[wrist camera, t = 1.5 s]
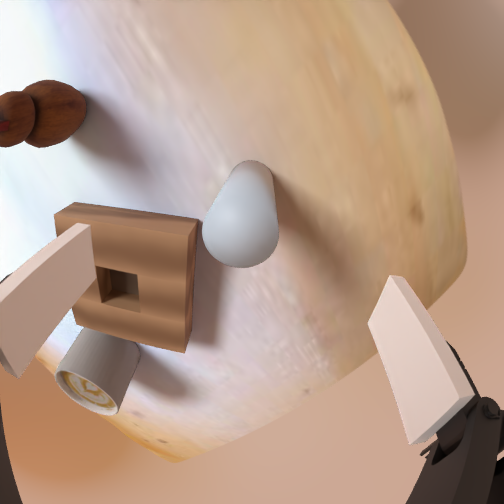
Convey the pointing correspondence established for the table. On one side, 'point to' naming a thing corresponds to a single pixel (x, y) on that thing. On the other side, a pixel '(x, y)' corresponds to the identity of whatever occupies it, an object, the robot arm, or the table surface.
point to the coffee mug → (98, 370)
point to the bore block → (137, 274)
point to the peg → (243, 218)
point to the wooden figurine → (40, 114)
